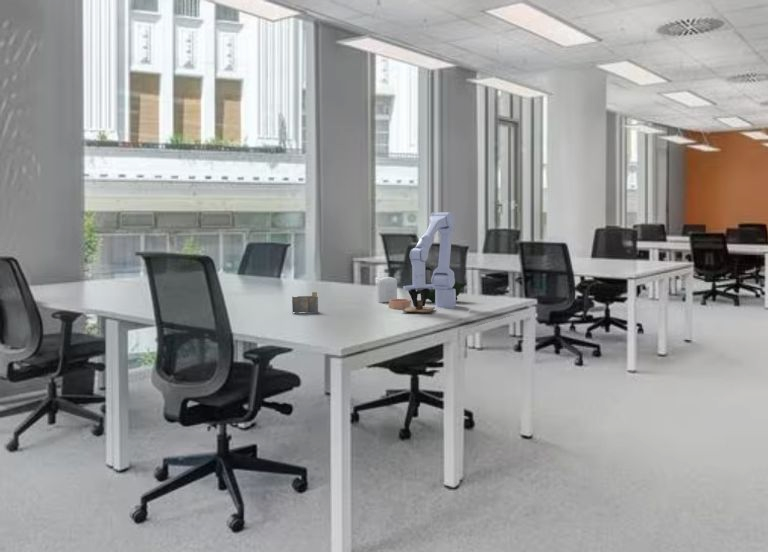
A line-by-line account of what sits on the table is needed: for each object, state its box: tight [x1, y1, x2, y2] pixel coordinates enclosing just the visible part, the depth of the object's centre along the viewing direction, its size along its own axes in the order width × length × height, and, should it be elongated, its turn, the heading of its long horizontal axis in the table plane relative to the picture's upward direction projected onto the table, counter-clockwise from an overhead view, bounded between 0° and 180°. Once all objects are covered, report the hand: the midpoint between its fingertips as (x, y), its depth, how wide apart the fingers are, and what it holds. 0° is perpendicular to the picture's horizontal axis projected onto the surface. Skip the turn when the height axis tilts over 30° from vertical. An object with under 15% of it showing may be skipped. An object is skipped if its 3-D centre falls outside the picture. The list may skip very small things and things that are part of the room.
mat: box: [401, 309, 437, 315], centre depth 302 cm, size 13×13×1 cm
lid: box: [402, 299, 436, 313], centre depth 302 cm, size 12×12×4 cm
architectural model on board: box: [291, 291, 319, 313], centre depth 309 cm, size 11×3×10 cm, turn 94°
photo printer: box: [377, 276, 398, 304], centre depth 341 cm, size 10×4×12 cm, turn 123°
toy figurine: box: [416, 265, 467, 303], centre depth 339 cm, size 9×19×25 cm
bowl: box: [388, 298, 412, 310], centre depth 316 cm, size 10×10×4 cm
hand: (419, 306), depth 302 cm, fingers closed on lid, 3 cm apart
